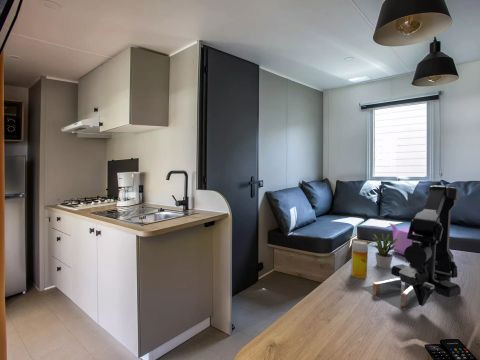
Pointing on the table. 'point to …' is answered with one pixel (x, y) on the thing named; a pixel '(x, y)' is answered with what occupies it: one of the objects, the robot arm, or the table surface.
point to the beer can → (359, 259)
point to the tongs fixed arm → (386, 286)
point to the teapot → (403, 236)
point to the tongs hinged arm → (407, 295)
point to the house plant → (384, 251)
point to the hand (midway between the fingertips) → (421, 305)
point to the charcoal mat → (396, 297)
